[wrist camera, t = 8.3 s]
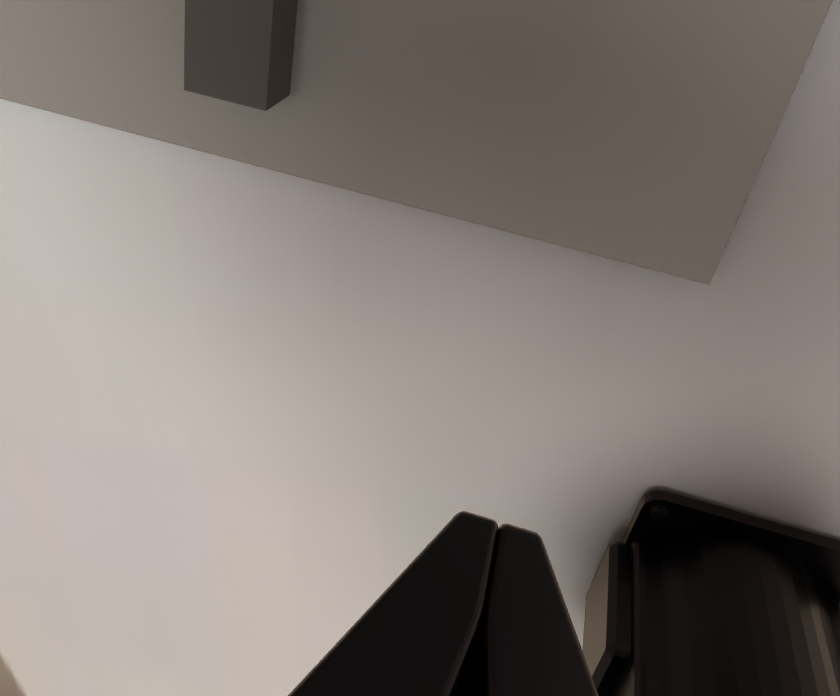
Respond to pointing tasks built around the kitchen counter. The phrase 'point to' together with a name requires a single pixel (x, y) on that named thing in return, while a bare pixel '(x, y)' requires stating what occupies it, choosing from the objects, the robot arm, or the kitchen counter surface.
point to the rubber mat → (450, 102)
